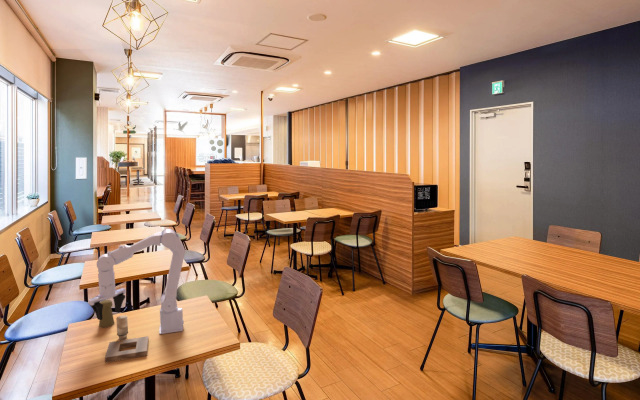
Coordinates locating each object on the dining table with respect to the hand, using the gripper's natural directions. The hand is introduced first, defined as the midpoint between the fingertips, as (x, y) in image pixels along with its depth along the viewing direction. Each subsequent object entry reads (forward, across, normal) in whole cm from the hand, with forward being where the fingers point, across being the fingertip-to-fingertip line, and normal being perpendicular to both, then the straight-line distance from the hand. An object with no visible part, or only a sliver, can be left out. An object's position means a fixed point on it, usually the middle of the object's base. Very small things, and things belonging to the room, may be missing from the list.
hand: (109, 315), depth 152 cm
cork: (+10, -7, -14) cm, 18 cm away
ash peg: (+10, -3, +4) cm, 11 cm away
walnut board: (+10, +3, +15) cm, 18 cm away
